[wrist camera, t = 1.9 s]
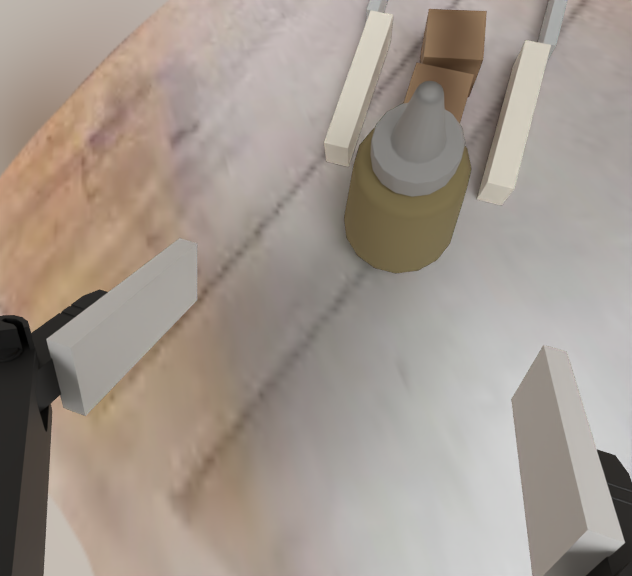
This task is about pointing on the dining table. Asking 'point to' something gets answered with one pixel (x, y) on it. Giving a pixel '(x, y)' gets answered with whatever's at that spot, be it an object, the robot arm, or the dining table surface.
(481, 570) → the dining table surface
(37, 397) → the robot arm
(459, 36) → the brown cube block
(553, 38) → the grey flat u-shaped frame
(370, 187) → the squeeze bottle
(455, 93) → the brown cubic block
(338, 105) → the slot rails
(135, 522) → the dining table surface
